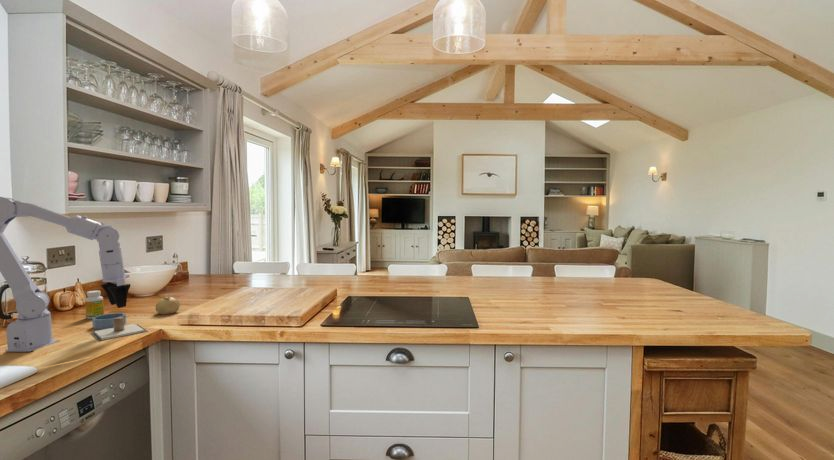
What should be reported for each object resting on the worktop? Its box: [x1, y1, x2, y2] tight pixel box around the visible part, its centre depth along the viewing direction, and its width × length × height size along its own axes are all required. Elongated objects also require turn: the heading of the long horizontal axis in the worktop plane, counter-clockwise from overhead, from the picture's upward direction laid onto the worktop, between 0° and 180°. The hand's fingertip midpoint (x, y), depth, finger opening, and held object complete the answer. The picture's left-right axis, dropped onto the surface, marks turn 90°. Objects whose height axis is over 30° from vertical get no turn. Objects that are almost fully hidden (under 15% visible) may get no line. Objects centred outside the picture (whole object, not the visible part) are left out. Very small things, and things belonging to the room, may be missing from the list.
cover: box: [93, 317, 144, 341], centre depth 135 cm, size 11×11×5 cm
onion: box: [155, 296, 181, 316], centre depth 160 cm, size 8×8×7 cm
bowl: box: [91, 312, 127, 330], centre depth 143 cm, size 9×9×4 cm
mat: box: [89, 324, 149, 343], centre depth 135 cm, size 13×13×1 cm
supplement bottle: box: [84, 290, 105, 320], centre depth 156 cm, size 5×5×10 cm
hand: (118, 305), depth 135 cm, fingers open, 7 cm apart
